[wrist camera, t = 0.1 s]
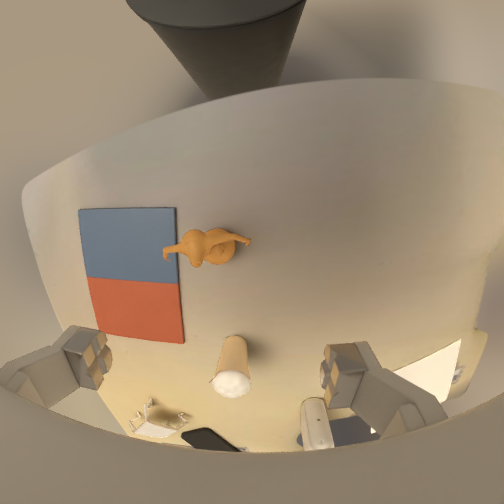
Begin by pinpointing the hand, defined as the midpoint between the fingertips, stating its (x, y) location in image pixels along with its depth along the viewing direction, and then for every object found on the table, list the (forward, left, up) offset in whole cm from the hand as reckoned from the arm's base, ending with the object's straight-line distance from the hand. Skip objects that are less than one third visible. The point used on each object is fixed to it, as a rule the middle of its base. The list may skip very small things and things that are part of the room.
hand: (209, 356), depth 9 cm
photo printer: (+34, +13, -24) cm, 44 cm away
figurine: (+2, -3, -24) cm, 24 cm away
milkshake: (+17, -1, -24) cm, 29 cm away
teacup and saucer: (+32, +35, -24) cm, 53 cm away
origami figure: (+36, -16, -24) cm, 46 cm away
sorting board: (+8, -15, -24) cm, 29 cm away
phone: (+47, -5, -24) cm, 53 cm away
